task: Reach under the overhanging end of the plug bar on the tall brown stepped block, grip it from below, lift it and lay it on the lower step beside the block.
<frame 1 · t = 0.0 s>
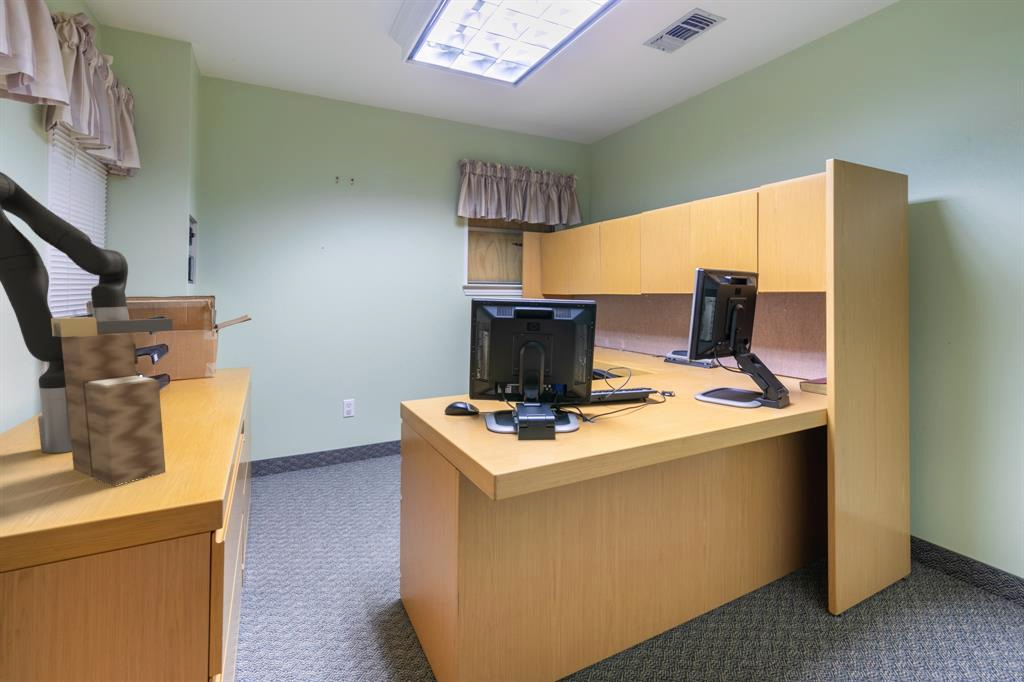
hand: (119, 383, 130), 17 cm above the table, tool pointing down, fingers open, 8 cm apart
alarm clock: (137, 414, 168), on the table
plug bar: (97, 334, 112), point 32 cm above the table, touching brown stepped block
brown stepped block: (108, 466, 115), on the table
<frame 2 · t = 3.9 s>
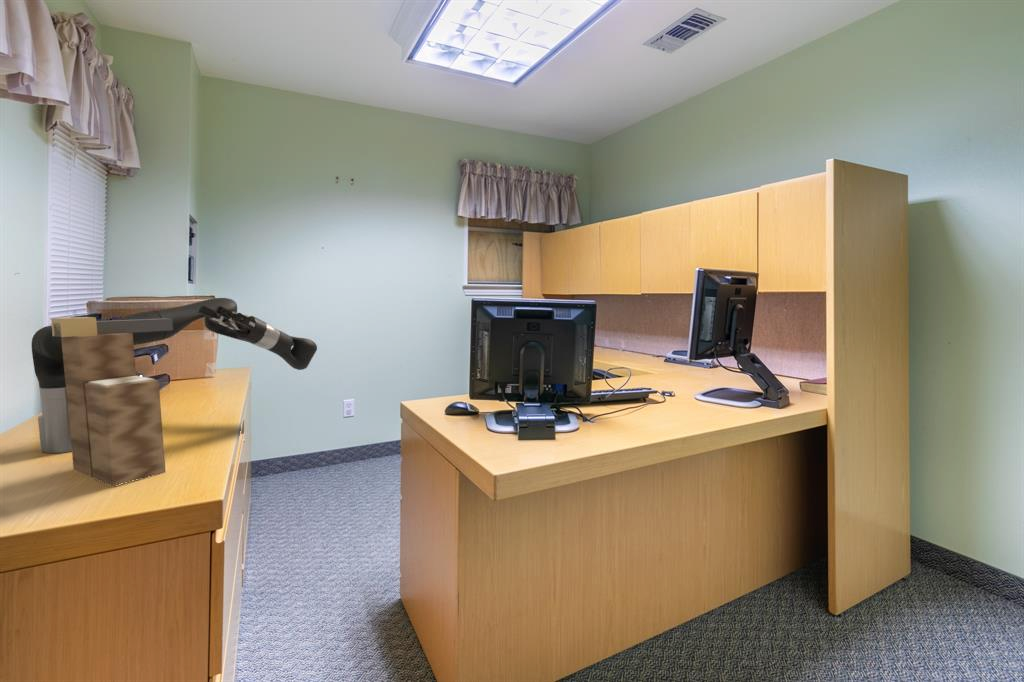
hand: (208, 308, 133), 37 cm above the table, tool pointing upward, fingers open, 8 cm apart
nothing on the table moved.
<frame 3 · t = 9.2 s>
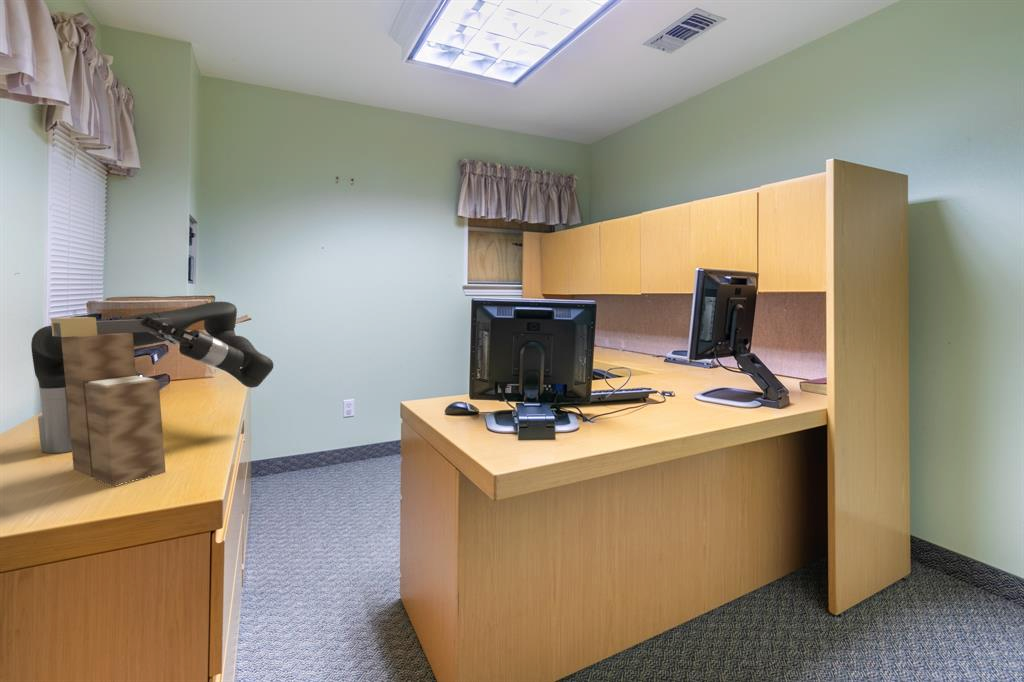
hand: (139, 320, 119), 35 cm above the table, tool pointing upward, fingers closed on plug bar, 4 cm apart
plug bar: (97, 334, 112), point 32 cm above the table, touching gripper, brown stepped block
everything else where it was.
when the fingers open (26 cm above the table, at t = 15.9 s): plug bar drops 1 cm, resting on brown stepped block.
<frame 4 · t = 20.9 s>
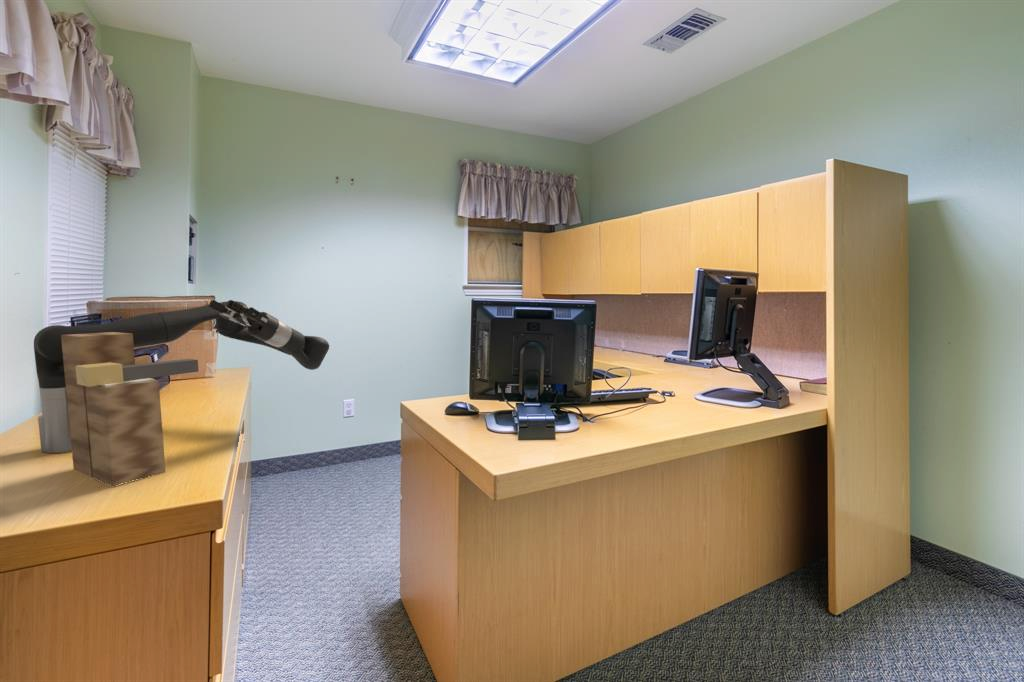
hand: (219, 303, 126), 39 cm above the table, tool pointing upward, fingers open, 8 cm apart
plug bar: (122, 380, 107), point 22 cm above the table, touching brown stepped block
everything else where it was.
at the end: plug bar 0.0 cm from the target spot on the brown stepped block, point 22.0 cm above the brown stepped block's base; the gripper is holding nothing; plug bar tilted 0° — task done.
